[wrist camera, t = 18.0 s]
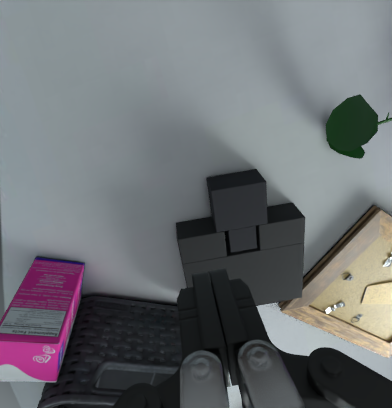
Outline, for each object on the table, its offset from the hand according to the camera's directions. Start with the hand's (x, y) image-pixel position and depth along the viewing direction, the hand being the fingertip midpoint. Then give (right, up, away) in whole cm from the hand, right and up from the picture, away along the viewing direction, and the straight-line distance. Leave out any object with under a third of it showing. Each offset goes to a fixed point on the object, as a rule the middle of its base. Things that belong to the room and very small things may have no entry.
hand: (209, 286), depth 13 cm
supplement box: (-17, -5, +24) cm, 30 cm away
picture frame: (+26, -9, +31) cm, 41 cm away
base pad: (+5, -3, +25) cm, 25 cm away
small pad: (+4, +4, +22) cm, 22 cm away
